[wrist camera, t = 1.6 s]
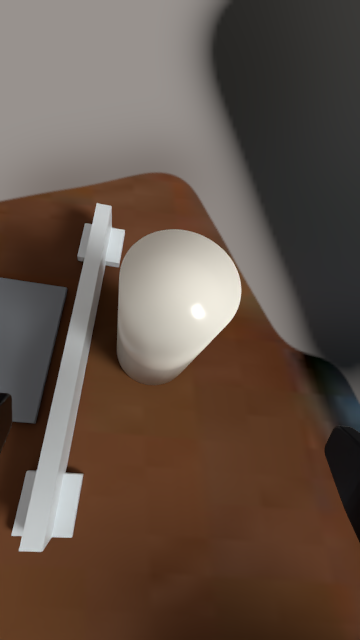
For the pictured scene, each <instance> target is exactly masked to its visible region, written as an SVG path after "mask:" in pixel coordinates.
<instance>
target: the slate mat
mask: <svg viewBox="0 0 360 640" xmlns="http://www.w3.org/2000/svg"><path fill="white" fill-rule="evenodd" d="M66 294H67V288H66V287H60V286H53V285H46V284H40V283H33V282H26V281H20V280H13V279H7V278H0V392H1V393H9V394H10V395H11V397H12V422H23V423H35V424H36V420H37V416H38V412H39V407H40V403H41V399H42V395H43V391H44V386H45V382H46V378H47V374H48V370H49V365H50V361H51V357H52V353H53V349H54V345H55V340H56V336H57V332H58V328H59V324H60V319H61V315H62V311H63V307H64V303H65V298H66Z"/></svg>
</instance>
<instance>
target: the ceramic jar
mask: <svg viewBox="0 0 360 640" xmlns="http://www.w3.org/2000/svg"><path fill="white" fill-rule="evenodd" d="M240 299H241V283H240V278H239V275H238V272H237V269H236V267H235V265H234V263H233V262H232V260H231V259H230V257H229V256H228V255H227V254H226V252H225V251H224V250H223V249H222V248H221V247H219V246H218V245H217V244H216V243H214V242H213V241H211V240H210V239H208V238H206V237H204V236H202V235H200V234H197V233H194V232H190V231H186V230H175V229H171V230H162V231H157V232H154V233H151V234H149V235H147V236H145V237H143V238H142V239H140V240H139V241H137V242H136V243H135V244H134V245H133V246H132V247H131V248H130V249H129V251H128V252H127V254H126V255H125V257H124V259H123V262H122V264H121V268H120V275H119V299H118V327H117V357H118V360H119V363H120V365H121V367H122V369H123V370H124V372H125V373H126V374H127V375H128V376H129V377H131V378H132V379H134V380H135V381H137V382H139V383H142V384H146V385H160V384H164V383H167V382H169V381H171V380H173V379H174V378H176V377H177V376H178V375H179V374H180V373H181V372H182V371H183V370H184V369H185V368H186V367H187V366H188V365H189V364H190V363H191V362H192V360H193V359H194V358H195V357H196V356H197V355H198V354H199V353H200V352H201V351H202V350H203V349H204V348H205V347H206V346H207V345H208V344H209V343H210V342H211V341H212V340H213V339H214V338H215V337H216V336H217V335H218V334H219V333H220V331H221V330H222V329H223V328H224V327H225V326H226V325H227V324H228V323H229V322H230V321H231V319H232V318H233V317H234V315H235V313H236V311H237V309H238V306H239V303H240Z"/></svg>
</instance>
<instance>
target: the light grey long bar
mask: <svg viewBox="0 0 360 640" xmlns="http://www.w3.org/2000/svg"><path fill="white" fill-rule="evenodd" d="M124 235H125V230H121V229H115V228H112V207H111V206H108V205H103V204H98V203H97V205H96V209H95V214H94V218H93V223H92V224H88V223H85V225H84V230H83V234H82V238H81V242H80V247H79V251H78V255H77V258H78V261H83V262H84V263H83V267H82V272H81V276H80V281H79V285H78V290H77V294H76V299H75V303H74V307H73V312H72V316H71V321H70V325H69V330H68V334H67V339H66V343H65V347H64V352H63V356H62V361H61V365H60V370H59V374H58V379H57V383H56V388H55V392H54V396H53V401H52V405H51V410H50V414H49V419H48V423H47V428H46V432H45V437H44V441H43V445H42V450H41V454H40V459H39V463H38V468H37V471H35V470H28V471H26V475H25V480H24V484H23V488H22V492H21V497H20V501H19V505H18V509H17V514H16V518H15V522H14V526H13V531H12V535H11V536H22V539H21V543H20V548H19V551H33V552H42V551H43V550H44V548H45V547H46V545H47V544H48V542H49V541H50V539H51V538H52V537H65V538H72V536H73V532H74V526H75V520H76V514H77V508H78V503H79V497H80V491H81V485H82V479H83V473H67V472H66V468H67V463H68V458H69V453H70V448H71V442H72V437H73V432H74V427H75V422H76V416H77V411H78V406H79V401H80V396H81V390H82V385H83V380H84V375H85V370H86V364H87V359H88V354H89V349H90V343H91V338H92V333H93V328H94V323H95V317H96V312H97V307H98V302H99V297H100V291H101V286H102V281H103V276H104V271H105V265H107V266H113V267H119V264H120V259H121V253H122V247H123V241H124Z"/></svg>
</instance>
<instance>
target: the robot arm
mask: <svg viewBox="0 0 360 640" xmlns="http://www.w3.org/2000/svg"><path fill="white" fill-rule="evenodd" d="M11 425H12V397H11V395H10V394H9V393H1V392H0V453H1V451H2V448H3V446H4V443H5V441H6V438H7V436H8V434H9V431H10V428H11ZM325 456H326V459H327V462H328V464H329V467H330V470H331V473H332V476H333V478H334V481H335V484H336V487H337V490H338V493H339V495H340V498H341V501H342V503H343V506H344V509H345V511H346V513H347V516H348V518H349V520H350V522H351V524H352V527H353V529H354V531H355V533H356V535H357V538H358V540H359V542H360V433H359V432H358V431H356V430H355V429H353V428H351V427H347V426H336V427H335V428H334V429H333V431H332V433H331V435H330V437H329V439H328V441H327V443H326V445H325Z"/></svg>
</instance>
